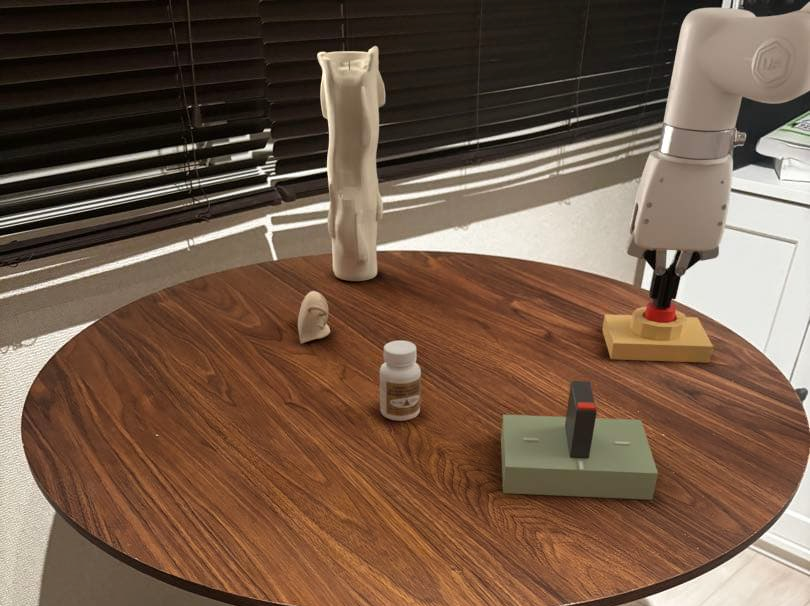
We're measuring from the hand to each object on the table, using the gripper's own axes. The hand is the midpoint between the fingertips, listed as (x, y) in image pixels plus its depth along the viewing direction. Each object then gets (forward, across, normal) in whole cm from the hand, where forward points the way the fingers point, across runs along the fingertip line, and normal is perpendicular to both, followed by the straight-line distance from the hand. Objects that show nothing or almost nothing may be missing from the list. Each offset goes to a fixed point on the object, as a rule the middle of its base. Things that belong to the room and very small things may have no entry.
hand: (660, 303), depth 100 cm
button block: (+6, 0, 0) cm, 6 cm away
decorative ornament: (+6, +44, 0) cm, 44 cm away
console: (+6, +13, +30) cm, 33 cm away
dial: (+2, +13, +30) cm, 33 cm away
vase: (+6, +41, -22) cm, 47 cm away
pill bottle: (+6, +31, +20) cm, 37 cm away
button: (+2, 0, 0) cm, 2 cm away
